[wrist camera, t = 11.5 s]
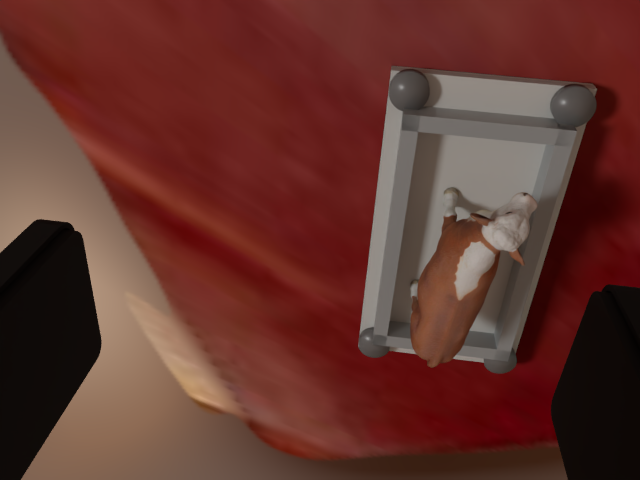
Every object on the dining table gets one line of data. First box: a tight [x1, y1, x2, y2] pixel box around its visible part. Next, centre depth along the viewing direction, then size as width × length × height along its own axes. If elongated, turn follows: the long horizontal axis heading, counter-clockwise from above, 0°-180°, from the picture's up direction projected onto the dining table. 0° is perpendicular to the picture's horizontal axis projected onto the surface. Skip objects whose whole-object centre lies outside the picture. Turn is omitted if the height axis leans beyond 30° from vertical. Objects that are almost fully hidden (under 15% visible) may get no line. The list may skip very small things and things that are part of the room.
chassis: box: [358, 66, 597, 373], centre depth 41 cm, size 22×12×3 cm, turn 177°
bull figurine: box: [410, 187, 538, 367], centre depth 38 cm, size 4×13×8 cm, turn 163°
